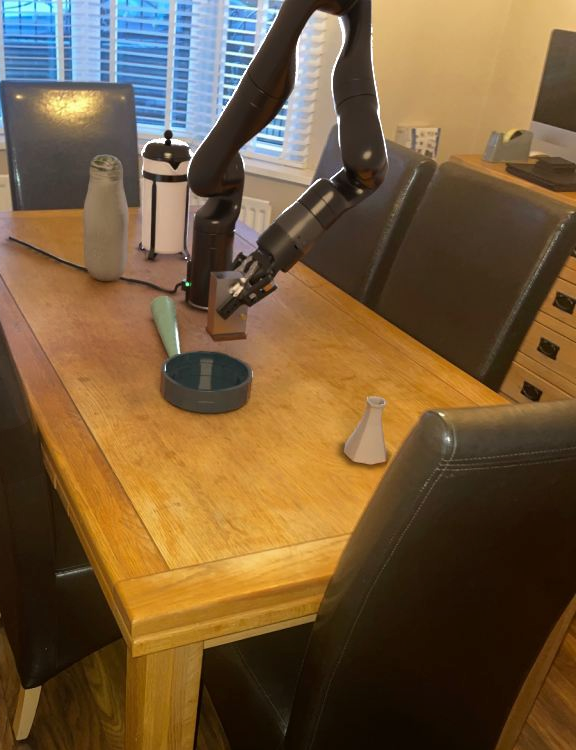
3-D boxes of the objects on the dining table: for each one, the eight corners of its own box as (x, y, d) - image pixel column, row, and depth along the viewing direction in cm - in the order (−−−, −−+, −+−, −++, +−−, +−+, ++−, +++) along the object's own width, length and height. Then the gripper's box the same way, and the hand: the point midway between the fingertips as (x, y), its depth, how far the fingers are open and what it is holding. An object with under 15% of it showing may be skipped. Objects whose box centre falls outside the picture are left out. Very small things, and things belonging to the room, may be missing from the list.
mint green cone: (166, 349, 146) (150, 295, 168) (164, 375, 150) (149, 320, 171) (194, 348, 147) (175, 295, 169) (192, 375, 151) (174, 319, 172)
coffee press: (204, 252, 211) (212, 130, 193) (171, 266, 200) (177, 139, 182) (151, 238, 218) (155, 119, 200) (117, 252, 207) (117, 127, 189)
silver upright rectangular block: (236, 328, 141) (242, 268, 134) (246, 339, 137) (252, 278, 130) (204, 330, 139) (209, 270, 132) (214, 342, 135) (219, 280, 129)
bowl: (142, 395, 142) (142, 370, 140) (196, 367, 153) (197, 343, 150) (215, 426, 135) (217, 400, 132) (266, 394, 146) (269, 369, 143)
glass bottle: (78, 282, 187) (74, 156, 171) (98, 269, 195) (96, 148, 178) (115, 290, 184) (115, 162, 168) (134, 277, 192) (135, 154, 176)
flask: (338, 442, 133) (348, 389, 127) (379, 442, 134) (392, 390, 128) (348, 465, 127) (360, 411, 121) (392, 465, 128) (405, 411, 122)
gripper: (261, 209, 134) (190, 282, 138) (295, 234, 123) (216, 313, 127) (286, 239, 139) (216, 309, 142) (320, 266, 128) (244, 341, 132)
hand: (216, 311), depth 135 cm, fingers closed on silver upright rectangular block, 3 cm apart
